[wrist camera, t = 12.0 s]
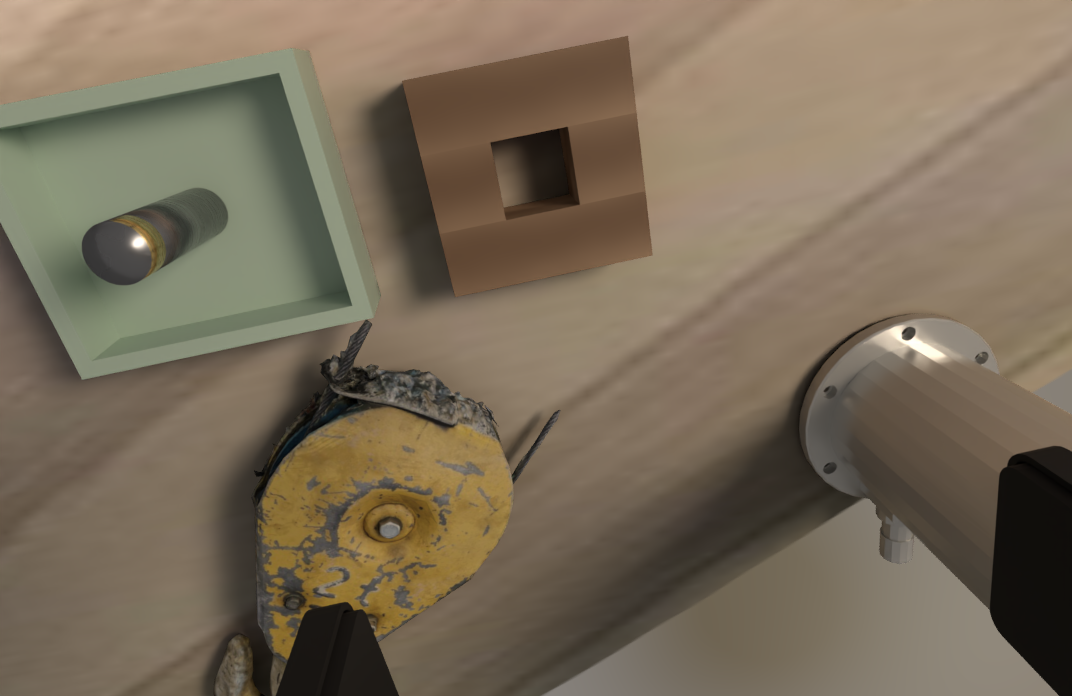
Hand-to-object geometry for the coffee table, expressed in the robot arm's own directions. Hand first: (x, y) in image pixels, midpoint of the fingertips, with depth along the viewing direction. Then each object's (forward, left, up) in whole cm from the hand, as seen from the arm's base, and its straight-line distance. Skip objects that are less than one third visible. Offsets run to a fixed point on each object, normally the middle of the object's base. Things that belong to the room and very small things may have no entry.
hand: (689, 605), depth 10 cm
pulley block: (-18, +14, -27) cm, 35 cm away
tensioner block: (+3, -1, -27) cm, 27 cm away
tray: (+4, +15, -27) cm, 31 cm away
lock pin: (+4, +15, -26) cm, 30 cm away
